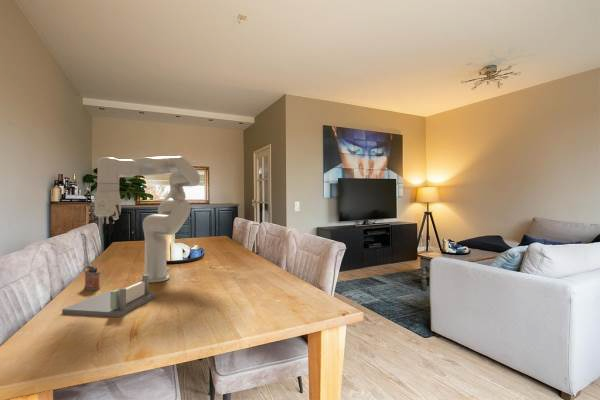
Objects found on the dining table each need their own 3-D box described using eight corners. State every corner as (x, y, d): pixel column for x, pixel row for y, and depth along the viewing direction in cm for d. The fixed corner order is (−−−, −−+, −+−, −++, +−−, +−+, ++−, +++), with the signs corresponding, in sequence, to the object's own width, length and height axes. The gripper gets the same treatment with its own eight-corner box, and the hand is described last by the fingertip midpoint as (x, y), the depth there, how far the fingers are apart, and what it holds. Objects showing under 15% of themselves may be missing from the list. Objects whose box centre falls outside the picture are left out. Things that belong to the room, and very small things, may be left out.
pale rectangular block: (140, 294, 118) (140, 278, 118) (144, 294, 118) (145, 279, 118) (110, 309, 102) (110, 291, 102) (115, 309, 102) (115, 291, 102)
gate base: (108, 294, 124) (108, 272, 124) (156, 296, 121) (156, 274, 121) (62, 313, 103) (62, 287, 103) (119, 317, 101) (119, 290, 101)
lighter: (101, 288, 131) (102, 265, 131) (93, 291, 128) (94, 267, 128) (90, 286, 135) (90, 264, 134) (82, 288, 131) (82, 265, 131)
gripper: (86, 188, 122) (86, 233, 122) (112, 187, 116) (112, 235, 116) (104, 188, 129) (104, 231, 129) (130, 188, 123) (129, 233, 123)
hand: (108, 233), depth 123 cm, fingers closed
